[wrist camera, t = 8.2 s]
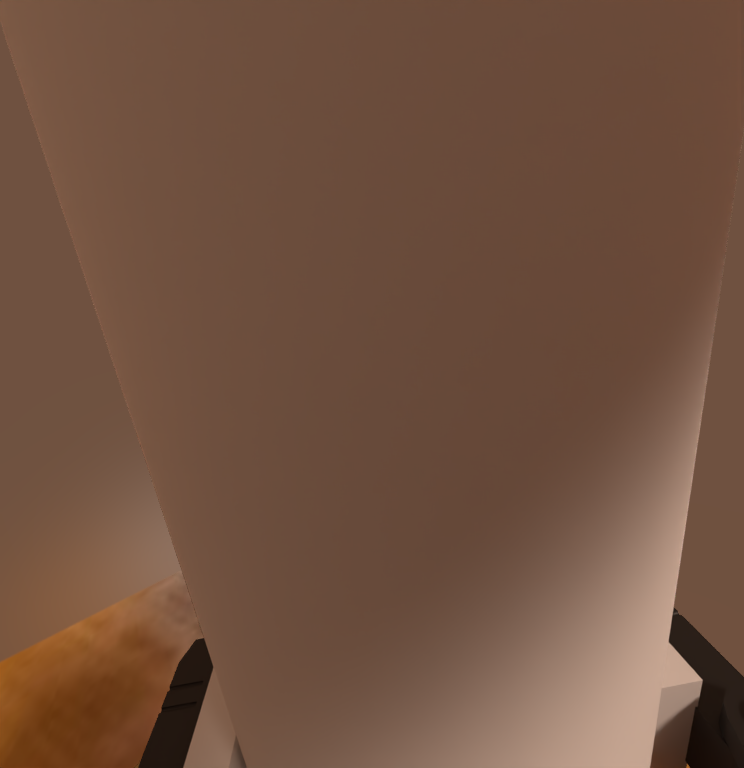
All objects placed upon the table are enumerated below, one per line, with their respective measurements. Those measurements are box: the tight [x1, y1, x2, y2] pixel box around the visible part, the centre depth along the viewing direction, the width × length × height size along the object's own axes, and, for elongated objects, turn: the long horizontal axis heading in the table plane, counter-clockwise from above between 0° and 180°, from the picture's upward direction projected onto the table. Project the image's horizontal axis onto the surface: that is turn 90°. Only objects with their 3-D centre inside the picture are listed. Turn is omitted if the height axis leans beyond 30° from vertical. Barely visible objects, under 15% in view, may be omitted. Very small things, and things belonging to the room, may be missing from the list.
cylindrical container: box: [0, 0, 744, 768], centre depth 8 cm, size 7×7×25 cm
